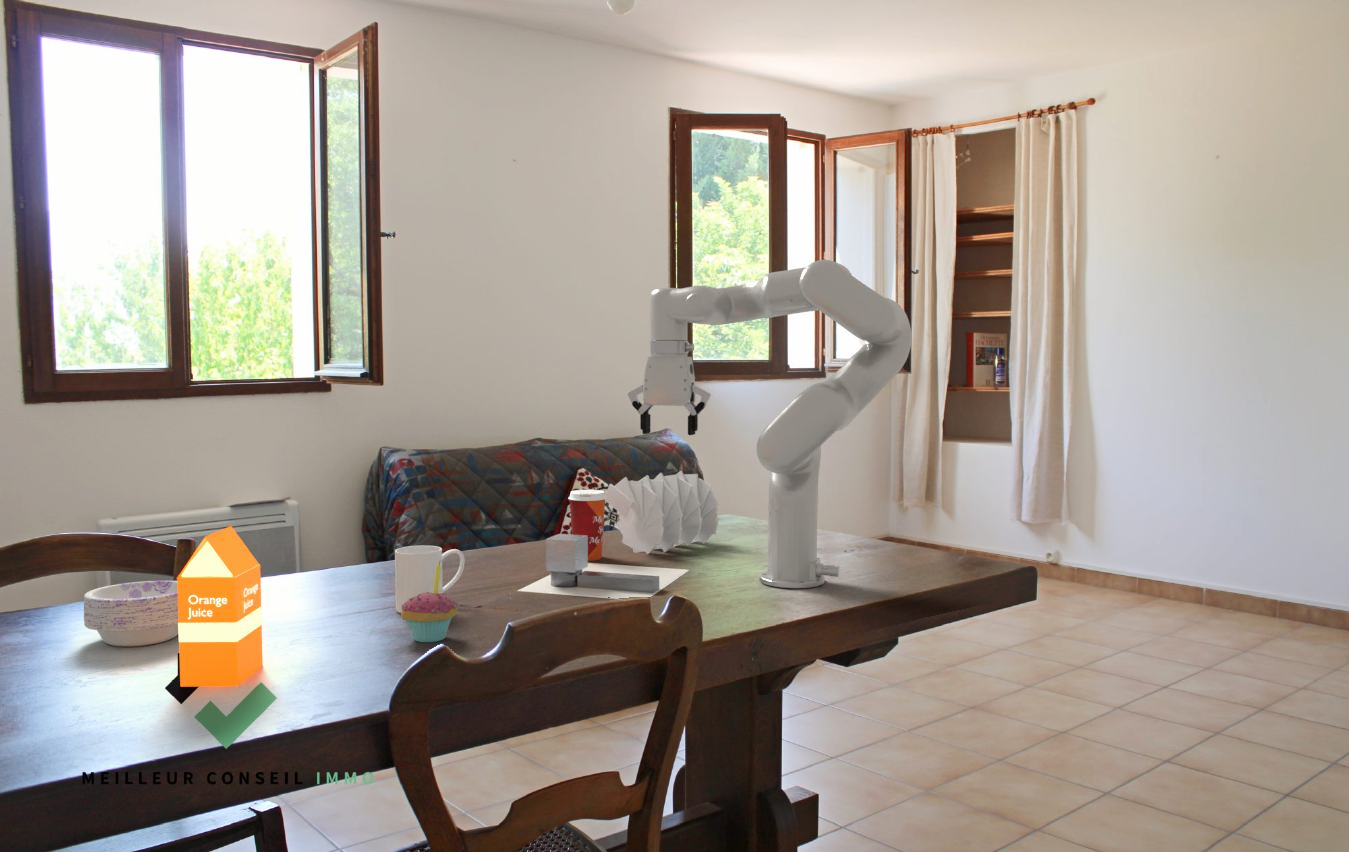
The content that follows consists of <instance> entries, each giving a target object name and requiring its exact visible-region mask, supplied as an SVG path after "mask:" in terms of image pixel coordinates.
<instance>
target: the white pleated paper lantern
mask: <svg viewBox="0 0 1349 852" xmlns="http://www.w3.org/2000/svg"><path fill="white" fill-rule="evenodd" d="M712 487H713V486H712V485H711V484H709V483H707V482H706V481H704V480H703V479H702V478H700V477H699V474H698V473H691V474H690V473H685V474H684V472H683V470H679V472H677V473H676V474H670V475H664V474H663V472H659V474H658V475H656V476H655V478H653V479H650V476H649V475H648V474H646V475H645V476H643V477H642V478H641V479H639V480H633V479H632V480H629V479H628V477H627V476H625V477H623V478H622V479H620V481H619V482H617V483H616V484H615V485H613V484H612V483H609V485H608V488H607V490H606V492H605V496H606V499H605V503H608V504H609V506H611V507H613V509H615V510H616V511H617V512H618V517H619V520H618V521H617V523H615V525H616V527H617V529H618V530H619V531H620V534H621V535H622V540H621V543H622V544H623V545H625V546H627V547H629V548H631V549H632V552H633V553H635V554H636V553H637V554H639V553H644V552H645V554H646V555H651V553H652V552H653V551H654V550H662V551H663V553H664V552H665V553H667V552H668V551H669V550H670V549H671V548H672V547H673V548H674V547H678V546H681V545H683V544H685V545H686V546H690V544H692V543H698V542H701V543H702V545H703V544H704V545H705V543H706V542H707V541H708V540H709V539H710V538H711V537H712V535H716V534H717V530H718V526H719V521H720V517H719V513H718V511H719V510H718V509H719V508H718V507H719V506H720V505H719V502H718V501H717V499H716V497H715V494H714V492H713V490H712Z"/></svg>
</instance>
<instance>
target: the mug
mask: <svg viewBox="0 0 1349 852" xmlns="http://www.w3.org/2000/svg"><path fill="white" fill-rule="evenodd" d="M452 554H458V556H459V567H458V570H457V572H456V574H455V575H454V577H453V578H451V580H450V581H449V582H447V584H445V585H444V586H443V560H444V559H446V557H447V556H450V555H452ZM464 555H465V554H464V553H463V552H462V551H461V550H459V549H456V548H454V549H449V550H446V551H445V552H443V548H442V547H440V546H436V545H425V544H424V545H409V546H403V547H399V548H397V549H394V572H395V573H394V574H395V575H394V578H395V579H394V581H395V582H394V583H395V585H394V586H395V587H394V588H395V611H396V612H397V613H398V614H401V611H402V605H403V604H404V603H405V602H406V601H408V600H409V599H411V598H413V597H415V596H418V594H422V593H425V592H427V593H428V592H429V593H434V584H435V576H436V567H437V565H439V561H440V560H441V561H440V566H441V570H440V578H439V587H438V593H443V594H444V592H447V591H448V590H449V589H450V588H452V587H453V586H454V584H456V582H457V581H458V580H459V579H460V577H461V575H462V574H463V571H464V569H465V563H466V562H465V560H466V559H465V556H464Z"/></svg>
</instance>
